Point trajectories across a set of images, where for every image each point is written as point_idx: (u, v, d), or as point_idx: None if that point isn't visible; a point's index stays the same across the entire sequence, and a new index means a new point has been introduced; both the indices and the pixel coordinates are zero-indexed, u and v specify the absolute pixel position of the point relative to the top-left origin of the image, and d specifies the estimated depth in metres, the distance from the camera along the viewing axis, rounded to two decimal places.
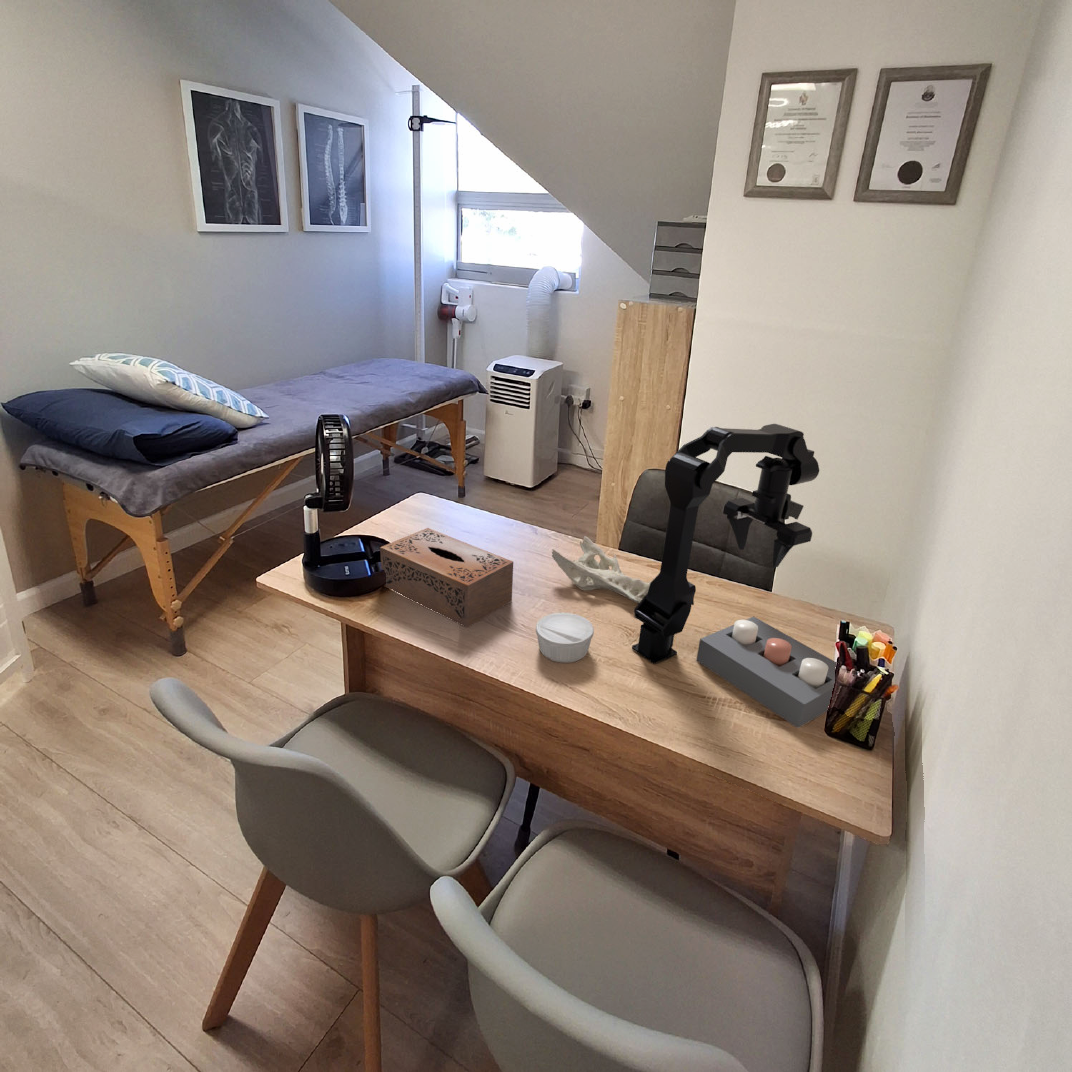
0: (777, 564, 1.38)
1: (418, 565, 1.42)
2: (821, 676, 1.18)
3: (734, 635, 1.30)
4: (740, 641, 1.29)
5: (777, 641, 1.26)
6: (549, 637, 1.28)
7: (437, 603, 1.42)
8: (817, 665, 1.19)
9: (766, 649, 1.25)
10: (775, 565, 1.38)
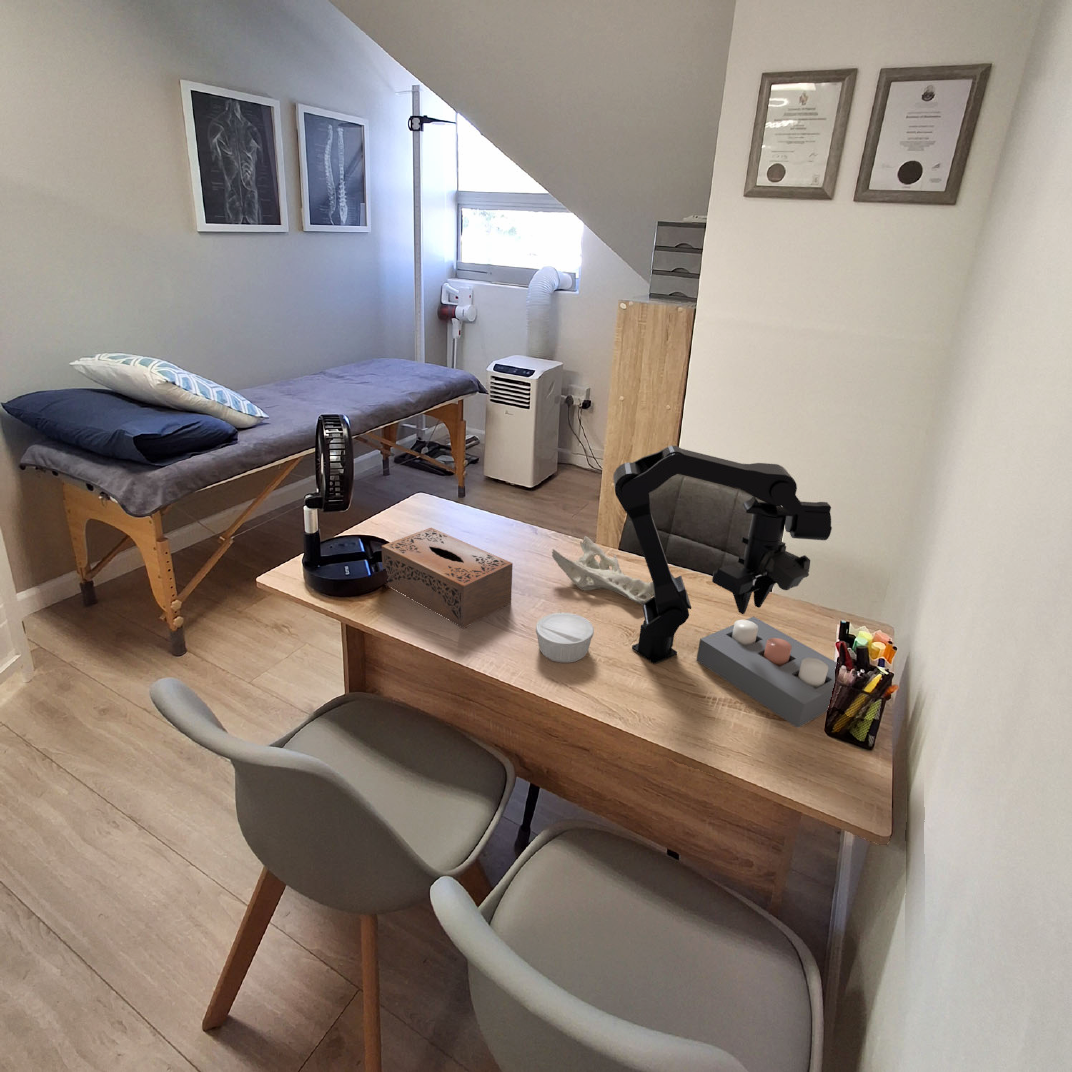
0: (740, 609, 1.27)
1: (417, 564, 1.42)
2: (821, 676, 1.18)
3: (734, 635, 1.30)
4: (740, 641, 1.29)
5: (777, 641, 1.26)
6: (549, 637, 1.28)
7: (435, 603, 1.42)
8: (817, 665, 1.19)
9: (766, 649, 1.25)
10: (738, 609, 1.27)
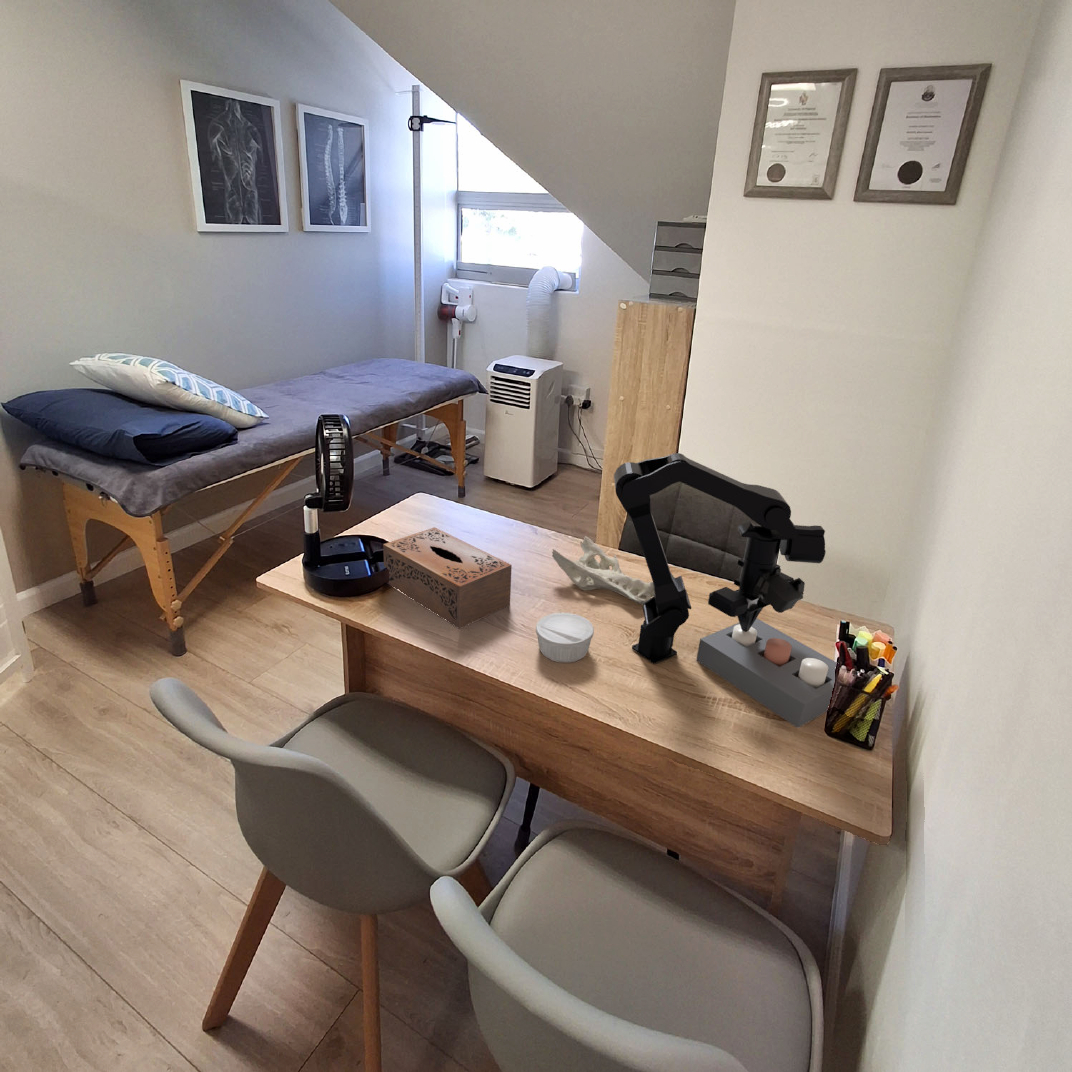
0: (743, 627, 1.30)
1: (416, 564, 1.43)
2: (821, 676, 1.18)
3: None
4: None
5: (777, 641, 1.26)
6: (549, 637, 1.28)
7: (433, 603, 1.42)
8: (817, 665, 1.19)
9: (766, 649, 1.25)
10: (741, 627, 1.30)
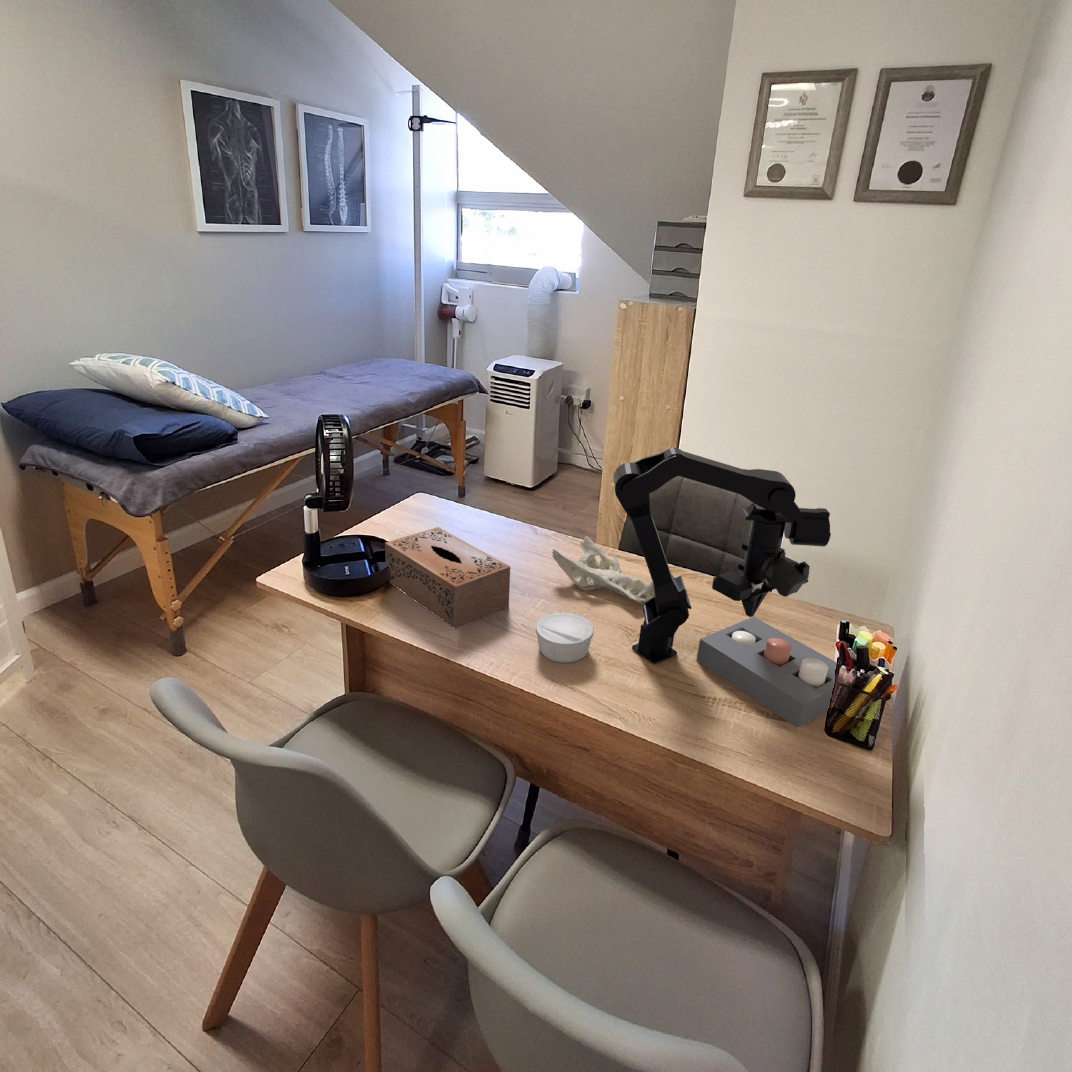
0: (747, 612, 1.29)
1: (415, 563, 1.43)
2: (821, 676, 1.18)
3: None
4: None
5: (777, 641, 1.26)
6: (549, 637, 1.28)
7: (430, 602, 1.42)
8: (817, 665, 1.19)
9: (766, 649, 1.25)
10: (746, 612, 1.29)
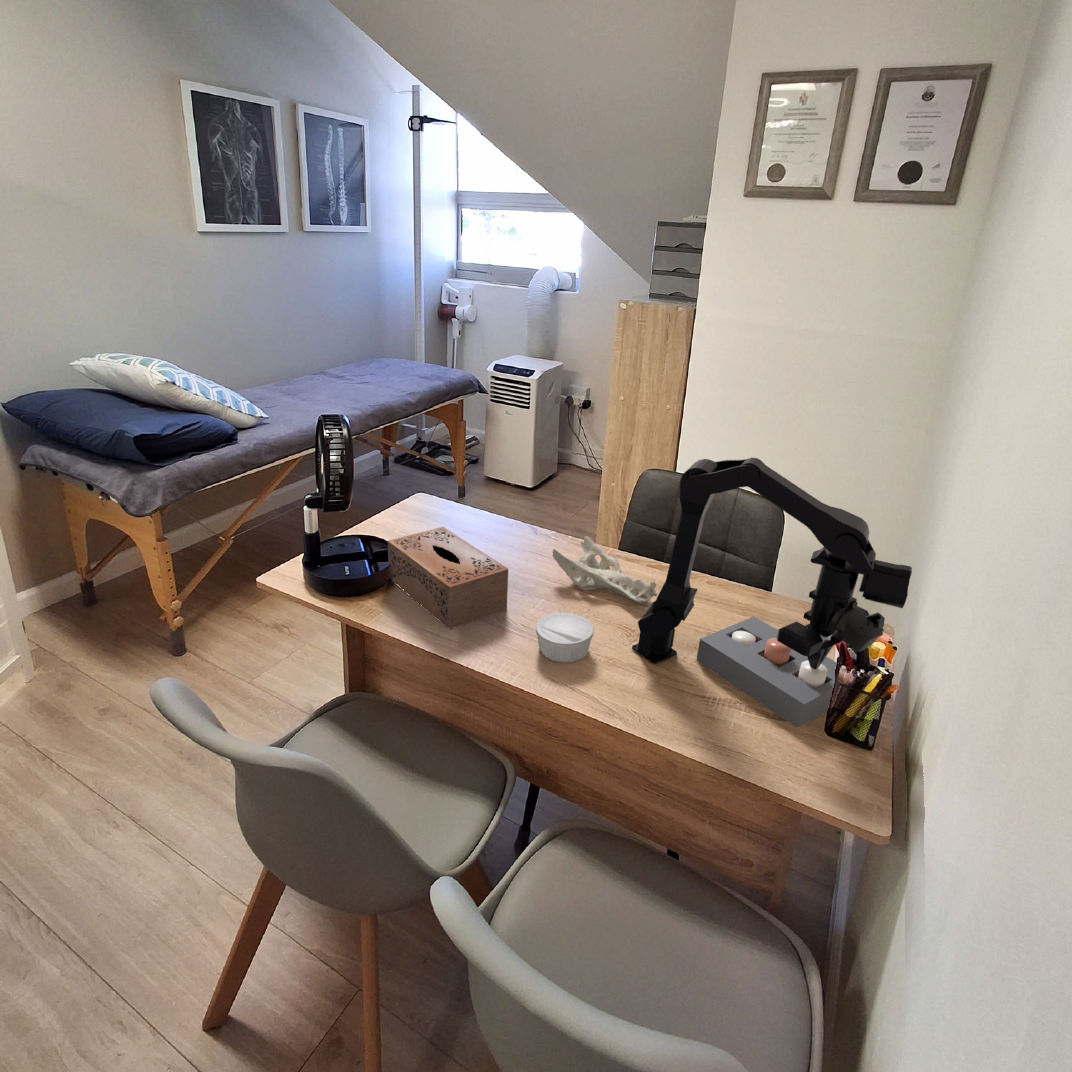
0: (812, 664, 1.19)
1: (414, 562, 1.43)
2: (820, 679, 1.18)
3: None
4: None
5: (777, 641, 1.26)
6: (549, 637, 1.28)
7: (428, 602, 1.42)
8: (817, 668, 1.19)
9: (766, 649, 1.25)
10: (810, 664, 1.19)
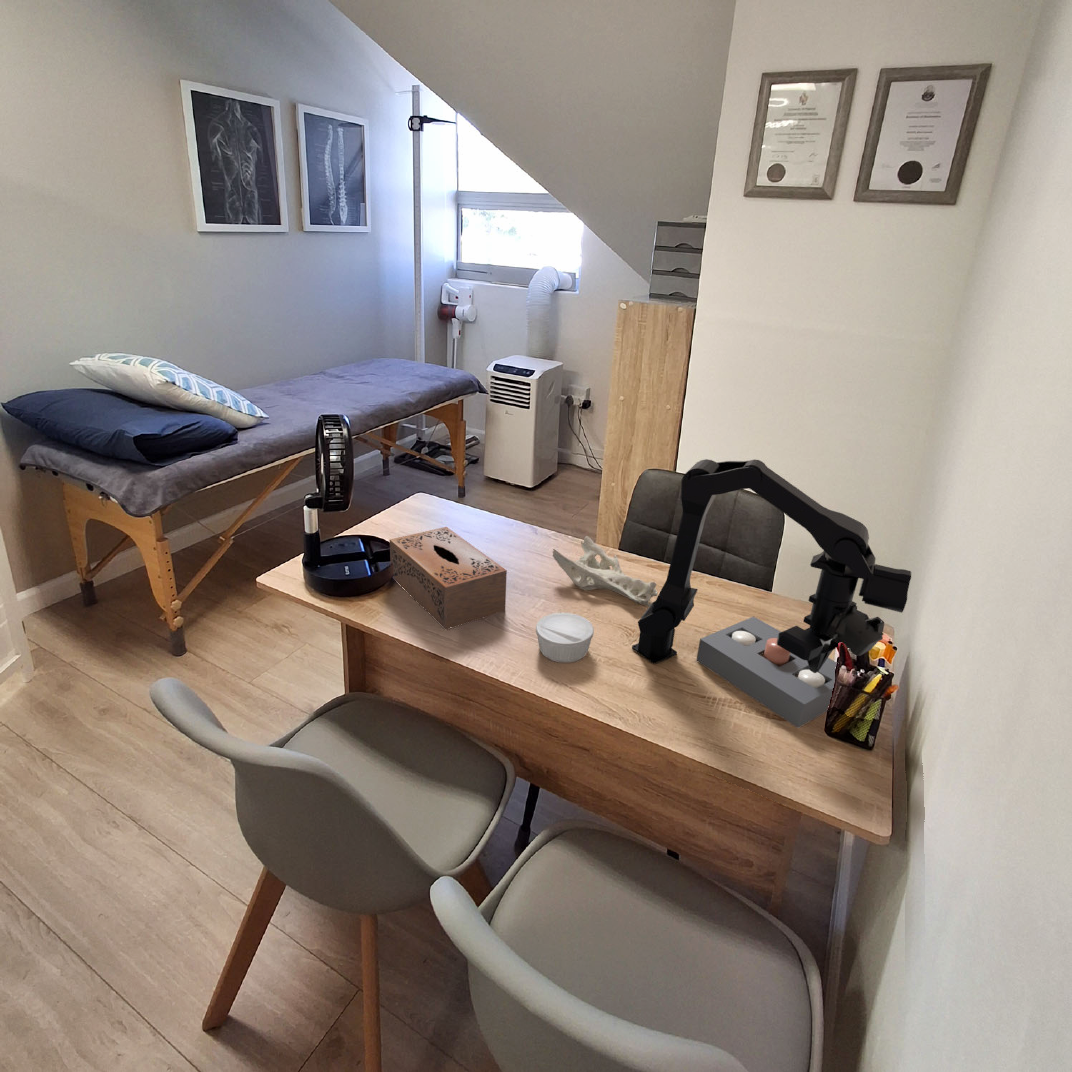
0: (812, 668, 1.19)
1: (413, 561, 1.44)
2: None
3: None
4: None
5: None
6: (549, 637, 1.28)
7: (426, 601, 1.43)
8: (814, 677, 1.20)
9: (766, 649, 1.25)
10: (810, 667, 1.20)
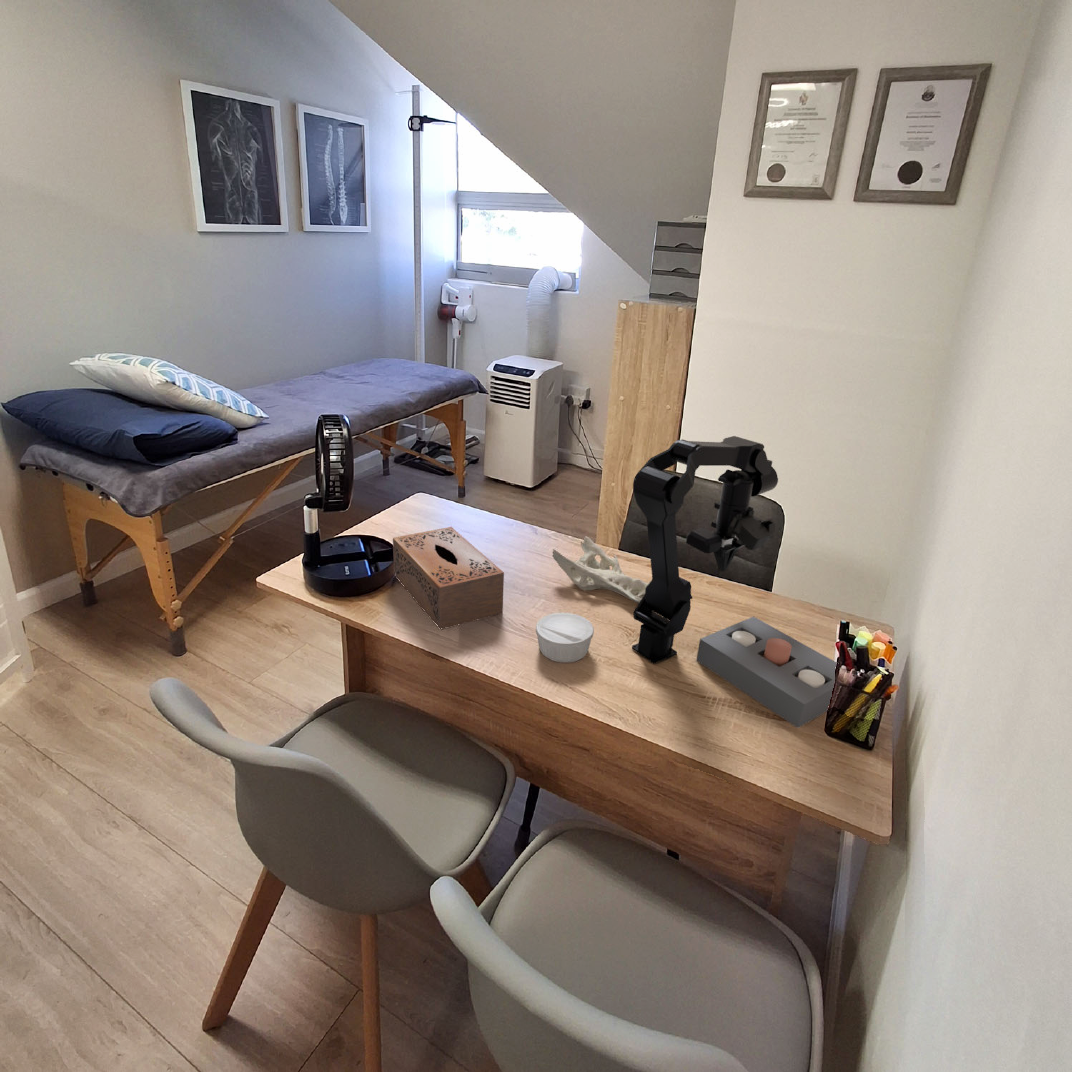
0: (720, 567, 1.40)
1: (412, 560, 1.44)
2: None
3: None
4: None
5: (777, 641, 1.26)
6: (549, 637, 1.28)
7: (423, 600, 1.43)
8: (814, 677, 1.20)
9: (766, 649, 1.25)
10: (719, 567, 1.41)
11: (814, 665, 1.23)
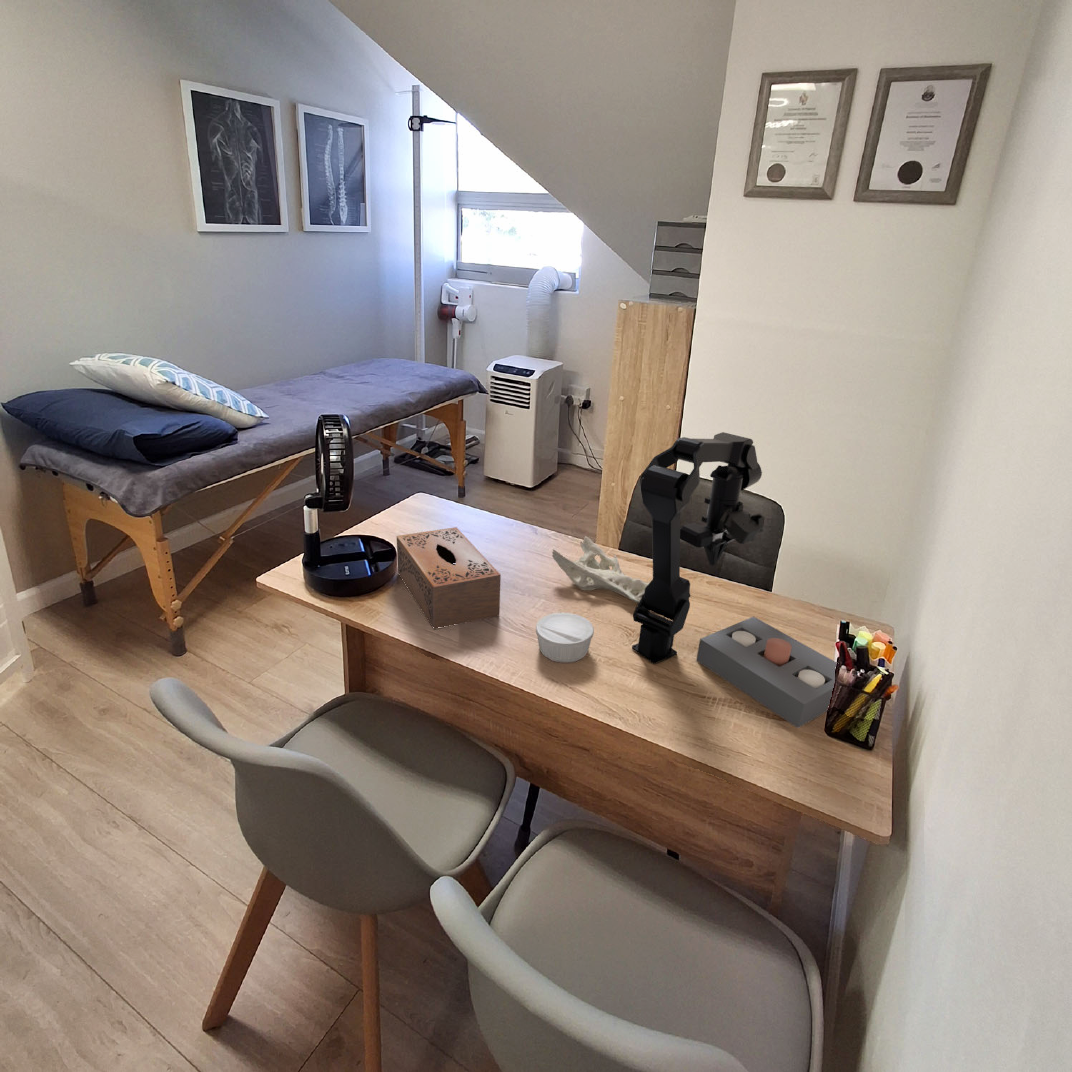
0: (710, 561, 1.43)
1: (412, 559, 1.45)
2: None
3: None
4: None
5: (777, 641, 1.26)
6: (549, 637, 1.28)
7: (420, 599, 1.43)
8: (814, 677, 1.20)
9: (766, 649, 1.25)
10: (709, 561, 1.43)
11: (814, 665, 1.23)
